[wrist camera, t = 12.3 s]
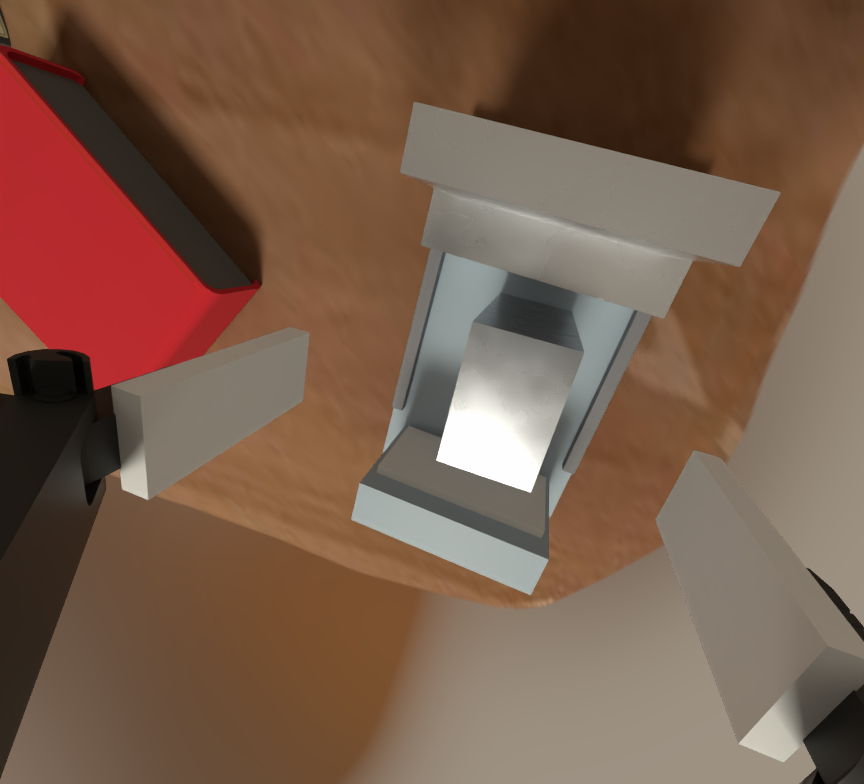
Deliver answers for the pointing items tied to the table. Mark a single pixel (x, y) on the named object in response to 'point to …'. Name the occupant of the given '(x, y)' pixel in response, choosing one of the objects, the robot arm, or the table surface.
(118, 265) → the red device housing
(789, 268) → the table surface
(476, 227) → the sliding jaw
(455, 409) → the steel block
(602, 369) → the vise base
